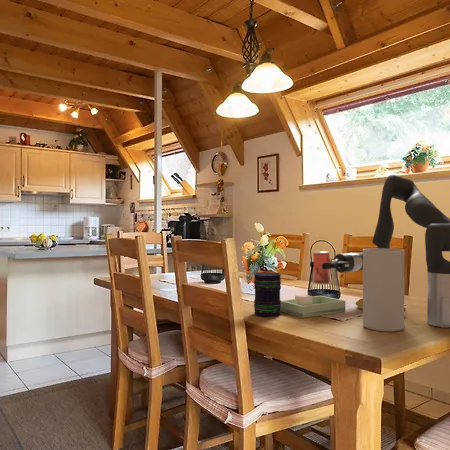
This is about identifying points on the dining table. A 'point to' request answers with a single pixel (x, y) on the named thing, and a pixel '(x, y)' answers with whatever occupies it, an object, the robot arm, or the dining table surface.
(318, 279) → the tin
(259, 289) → the storage jar
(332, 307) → the green tray
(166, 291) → the dining table surface
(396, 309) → the cylinder vase
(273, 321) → the dining table surface
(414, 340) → the dining table surface
